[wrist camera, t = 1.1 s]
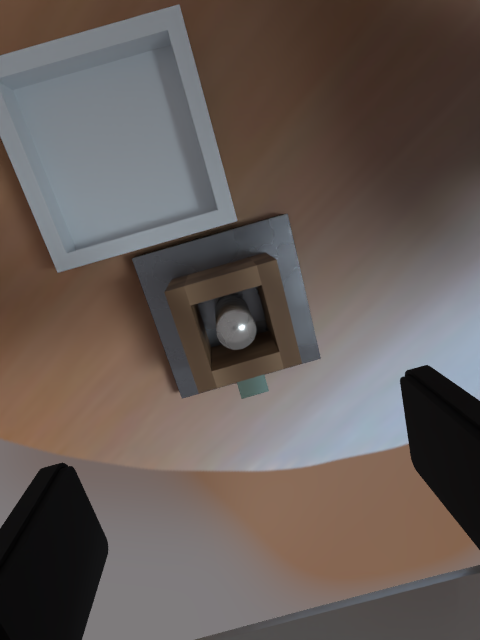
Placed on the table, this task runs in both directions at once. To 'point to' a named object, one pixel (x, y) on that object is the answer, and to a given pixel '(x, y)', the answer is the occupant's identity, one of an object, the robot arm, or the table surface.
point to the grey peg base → (230, 310)
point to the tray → (113, 139)
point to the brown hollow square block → (219, 361)
